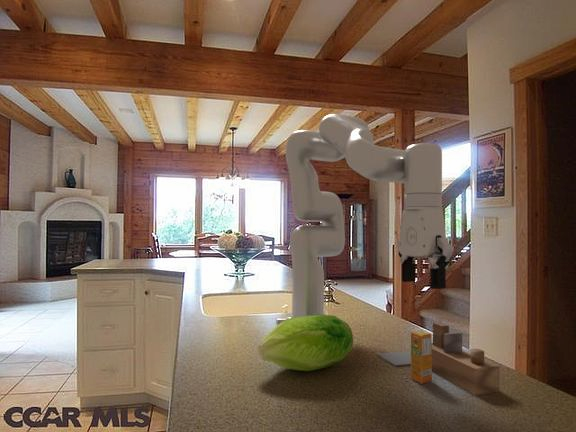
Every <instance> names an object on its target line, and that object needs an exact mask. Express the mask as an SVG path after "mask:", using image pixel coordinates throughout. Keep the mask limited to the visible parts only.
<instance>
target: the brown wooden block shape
mask: <svg viewBox="0 0 576 432" xmlns="http://www.w3.org/2000/svg"><path fill="white" fill-rule="evenodd" d="M500 369H501V368H500V365H498V364H496V363H494V362H491V361H489V360H487V359H485V351H484V350H483V349H478V348H473V349H470V352H468V351H466V350H464V349H463V332H461V331H459V332H450V325H449V324H446V323H443V322H441V321H438V322H436V321H435V322H432V373H434V374H436V375H438V376H439V377H441V378H443V379H446V380H447V381H448V382H450V383H453V384H454V385H455V386H458V387H460V388H461V389H463V390H465V391H467V392H468V393H470V394H472V395H474V396H478V395H485V394H491V393H498V392H500V371H501V370H500Z"/></svg>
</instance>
